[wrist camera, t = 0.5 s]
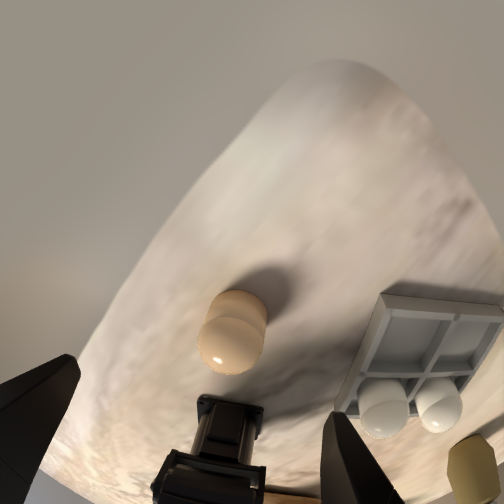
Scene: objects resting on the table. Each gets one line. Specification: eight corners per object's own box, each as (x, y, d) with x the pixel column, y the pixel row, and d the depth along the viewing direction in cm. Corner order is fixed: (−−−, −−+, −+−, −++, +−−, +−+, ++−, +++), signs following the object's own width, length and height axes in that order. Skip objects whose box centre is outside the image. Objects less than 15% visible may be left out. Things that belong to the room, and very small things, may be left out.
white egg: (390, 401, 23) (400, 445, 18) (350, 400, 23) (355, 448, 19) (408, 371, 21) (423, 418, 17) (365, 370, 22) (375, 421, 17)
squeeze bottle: (437, 462, 30) (452, 550, 14) (448, 441, 27) (470, 543, 11) (478, 446, 28) (499, 529, 12) (493, 422, 26) (522, 515, 9)
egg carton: (440, 401, 24) (444, 413, 22) (333, 403, 24) (335, 418, 23) (498, 305, 18) (508, 316, 17) (379, 293, 19) (386, 308, 18)
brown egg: (263, 339, 22) (255, 392, 17) (209, 331, 22) (191, 380, 18) (270, 294, 20) (263, 346, 15) (211, 285, 21) (188, 333, 16)
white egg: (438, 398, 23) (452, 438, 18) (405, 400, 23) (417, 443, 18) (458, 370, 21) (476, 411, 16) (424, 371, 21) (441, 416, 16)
